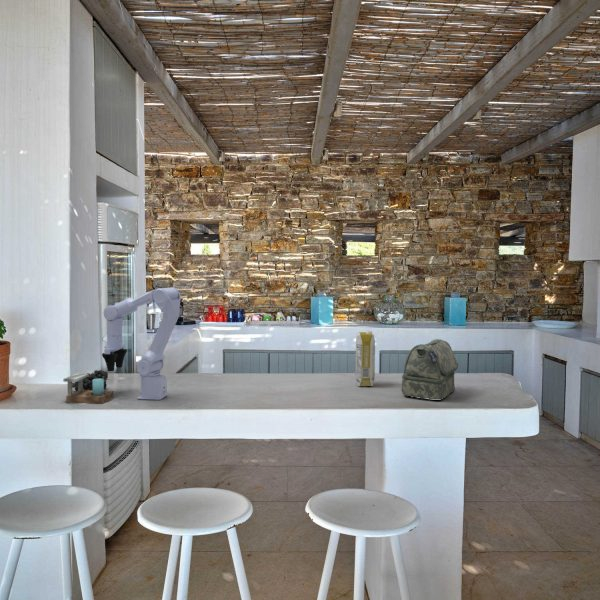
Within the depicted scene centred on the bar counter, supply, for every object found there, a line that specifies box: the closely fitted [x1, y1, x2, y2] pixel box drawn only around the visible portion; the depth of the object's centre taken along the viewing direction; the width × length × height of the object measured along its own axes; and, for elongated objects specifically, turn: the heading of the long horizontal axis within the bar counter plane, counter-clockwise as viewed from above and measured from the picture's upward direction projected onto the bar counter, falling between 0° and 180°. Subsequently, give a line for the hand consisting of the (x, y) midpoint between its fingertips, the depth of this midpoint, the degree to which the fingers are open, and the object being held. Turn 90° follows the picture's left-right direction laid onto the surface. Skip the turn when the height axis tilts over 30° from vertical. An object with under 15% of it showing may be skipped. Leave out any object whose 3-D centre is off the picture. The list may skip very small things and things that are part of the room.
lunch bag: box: [401, 338, 459, 399], centre depth 226 cm, size 26×18×22 cm
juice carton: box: [354, 330, 376, 387], centre depth 241 cm, size 9×8×24 cm
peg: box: [92, 378, 105, 395], centre depth 211 cm, size 4×4×8 cm
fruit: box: [72, 369, 110, 392], centre depth 227 cm, size 9×8×15 cm
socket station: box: [63, 373, 115, 405], centre depth 212 cm, size 16×10×9 cm, turn 85°
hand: (115, 369), depth 222 cm, fingers open, 7 cm apart
